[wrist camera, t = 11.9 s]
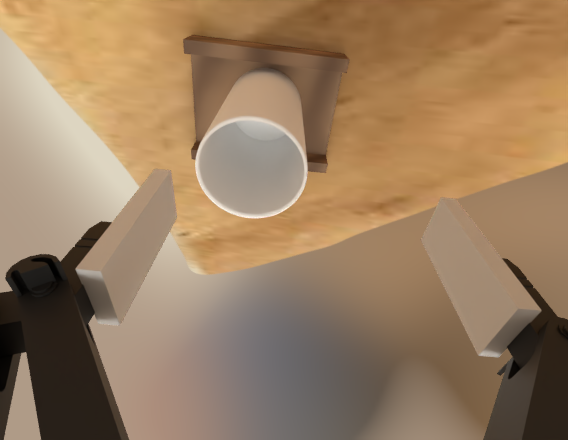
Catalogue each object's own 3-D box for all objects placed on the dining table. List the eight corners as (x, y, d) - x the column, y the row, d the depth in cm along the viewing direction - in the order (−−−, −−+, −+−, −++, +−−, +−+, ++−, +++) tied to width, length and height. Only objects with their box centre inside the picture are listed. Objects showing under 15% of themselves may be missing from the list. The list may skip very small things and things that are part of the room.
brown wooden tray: (344, 53, 33) (349, 59, 30) (323, 160, 41) (325, 173, 38) (192, 35, 32) (183, 39, 30) (198, 147, 40) (191, 159, 37)
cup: (219, 76, 34) (176, 129, 21) (294, 60, 33) (297, 105, 20) (240, 146, 39) (215, 225, 26) (306, 134, 38) (315, 210, 25)
